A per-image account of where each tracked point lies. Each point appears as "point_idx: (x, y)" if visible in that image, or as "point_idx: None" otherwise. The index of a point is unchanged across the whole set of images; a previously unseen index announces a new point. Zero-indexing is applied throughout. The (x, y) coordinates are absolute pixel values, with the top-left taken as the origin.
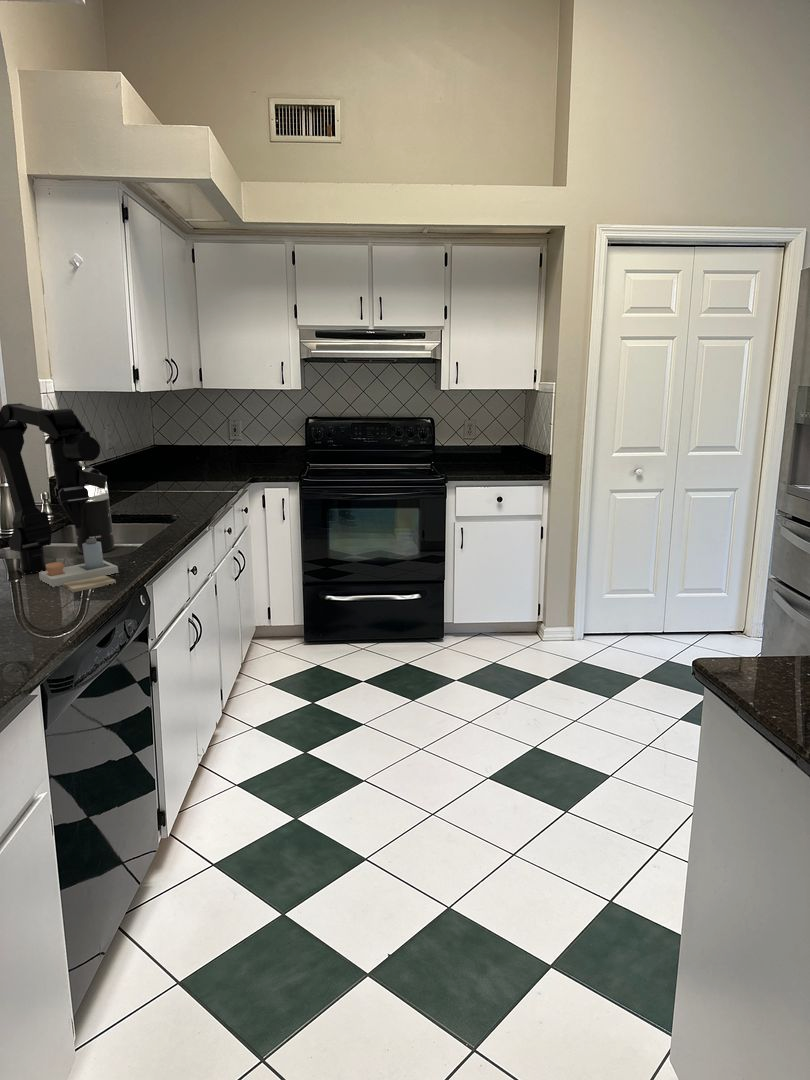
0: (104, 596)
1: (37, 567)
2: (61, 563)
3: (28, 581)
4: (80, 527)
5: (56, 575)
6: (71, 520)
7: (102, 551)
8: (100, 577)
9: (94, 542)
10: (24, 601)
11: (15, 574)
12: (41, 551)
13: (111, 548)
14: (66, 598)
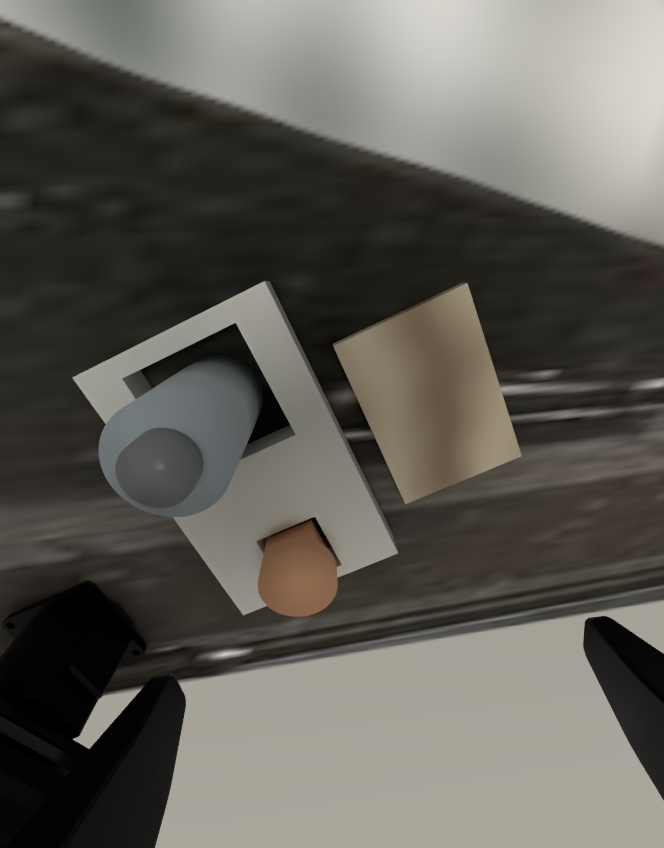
0: (660, 320)
1: (117, 631)
2: (304, 558)
3: (255, 620)
4: (609, 620)
5: (336, 546)
6: (173, 757)
7: None
8: (372, 362)
9: (186, 442)
10: (536, 586)
11: (127, 674)
12: (50, 678)
13: None
14: (588, 464)
